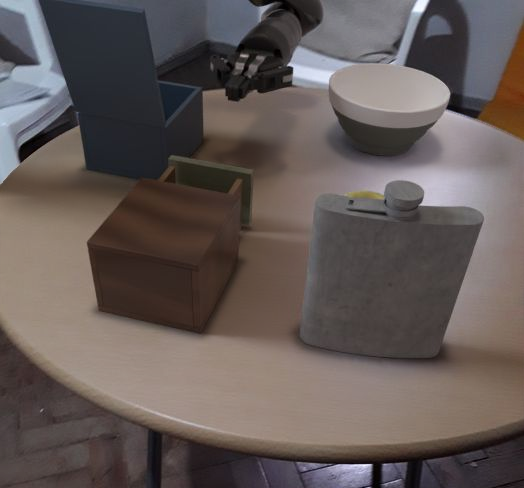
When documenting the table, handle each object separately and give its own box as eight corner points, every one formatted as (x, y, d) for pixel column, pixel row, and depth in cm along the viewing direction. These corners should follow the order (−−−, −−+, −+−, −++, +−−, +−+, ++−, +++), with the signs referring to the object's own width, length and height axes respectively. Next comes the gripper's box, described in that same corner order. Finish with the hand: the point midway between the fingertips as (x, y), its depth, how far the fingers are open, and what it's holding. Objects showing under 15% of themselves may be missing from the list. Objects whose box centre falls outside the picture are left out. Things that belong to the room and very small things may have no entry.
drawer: (177, 201, 89) (174, 150, 84) (254, 216, 88) (256, 165, 82) (135, 260, 79) (128, 206, 74) (221, 278, 77) (221, 224, 72)
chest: (128, 126, 108) (122, 74, 101) (203, 140, 105) (202, 87, 99) (86, 169, 97) (77, 113, 90) (169, 184, 94) (165, 128, 88)
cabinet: (147, 242, 84) (141, 177, 77) (238, 261, 82) (239, 195, 75) (98, 310, 73) (86, 241, 67) (200, 333, 71) (198, 265, 65)
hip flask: (437, 340, 72) (489, 184, 58) (440, 364, 70) (496, 207, 56) (300, 325, 73) (319, 168, 59) (297, 349, 70) (317, 190, 56)
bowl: (423, 180, 99) (438, 122, 92) (306, 153, 104) (312, 95, 97) (445, 130, 112) (459, 76, 106) (340, 108, 117) (348, 55, 110)
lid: (40, -6, 76) (37, -3, 76) (144, 8, 74) (142, 12, 74) (77, 108, 90) (75, 111, 90) (166, 123, 88) (164, 127, 88)
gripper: (225, 18, 95) (185, 58, 83) (311, 30, 93) (282, 72, 81) (225, 69, 100) (187, 113, 88) (306, 81, 98) (278, 128, 86)
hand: (233, 94), depth 84 cm, fingers closed
